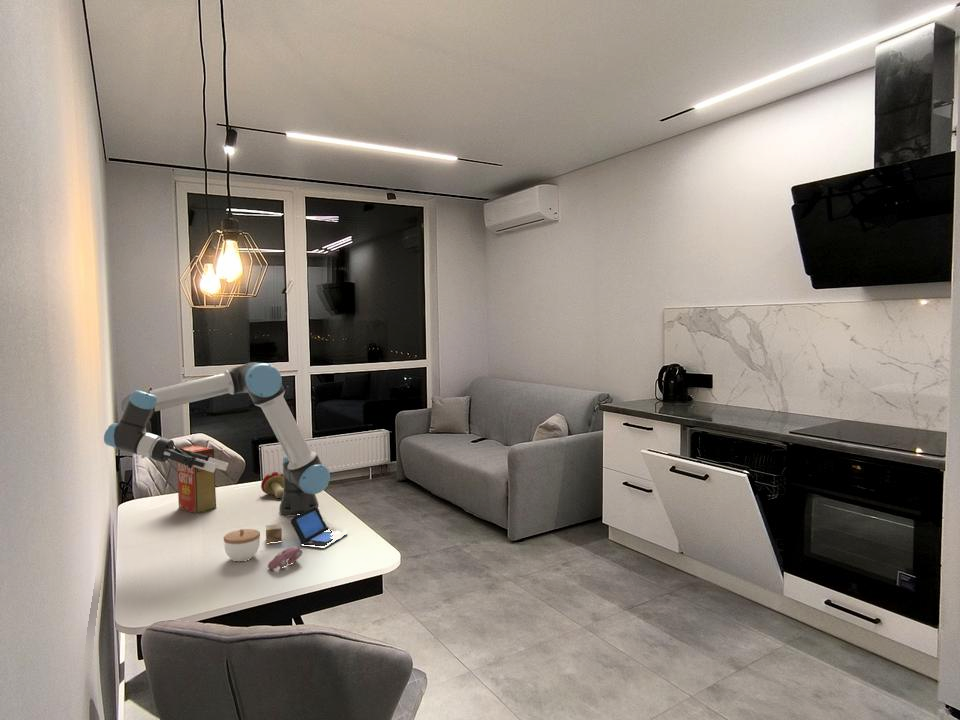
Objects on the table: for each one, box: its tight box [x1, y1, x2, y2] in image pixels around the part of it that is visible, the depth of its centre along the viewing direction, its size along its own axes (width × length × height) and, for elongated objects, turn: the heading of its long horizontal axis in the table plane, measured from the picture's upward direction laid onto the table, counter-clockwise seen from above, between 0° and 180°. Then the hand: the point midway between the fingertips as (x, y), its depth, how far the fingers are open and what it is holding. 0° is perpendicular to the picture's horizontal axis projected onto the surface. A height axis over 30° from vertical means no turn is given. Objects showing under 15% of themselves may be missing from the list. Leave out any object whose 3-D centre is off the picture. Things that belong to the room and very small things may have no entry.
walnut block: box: [265, 523, 283, 543], centre depth 202 cm, size 5×5×5 cm
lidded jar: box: [223, 528, 261, 563], centre depth 186 cm, size 11×11×9 cm
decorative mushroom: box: [260, 471, 284, 499], centre depth 258 cm, size 11×11×15 cm
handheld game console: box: [290, 508, 333, 546], centre depth 203 cm, size 16×13×9 cm
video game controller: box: [267, 546, 304, 570], centre depth 180 cm, size 10×5×7 cm, turn 148°
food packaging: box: [176, 445, 217, 514], centre depth 240 cm, size 13×9×25 cm
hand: (221, 467), depth 192 cm, fingers open, 13 cm apart
